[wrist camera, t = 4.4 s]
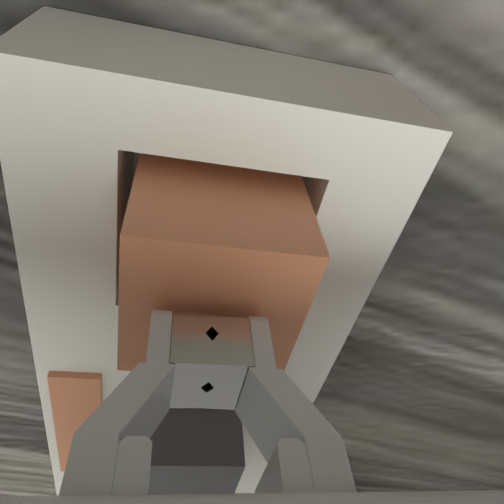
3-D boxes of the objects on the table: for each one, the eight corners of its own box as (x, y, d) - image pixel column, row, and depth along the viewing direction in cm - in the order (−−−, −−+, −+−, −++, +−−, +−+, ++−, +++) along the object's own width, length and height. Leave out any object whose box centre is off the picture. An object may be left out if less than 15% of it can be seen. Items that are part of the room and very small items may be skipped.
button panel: (392, 75, 16) (457, 136, 12) (236, 473, 35) (241, 549, 31) (43, 5, 14) (-24, 53, 10) (82, 472, 33) (64, 554, 29)
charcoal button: (237, 362, 21) (245, 466, 17) (221, 417, 24) (224, 516, 20) (132, 357, 20) (115, 465, 16) (129, 415, 23) (114, 517, 19)
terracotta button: (296, 161, 15) (330, 258, 11) (264, 272, 18) (281, 378, 14) (143, 138, 14) (119, 235, 10) (137, 260, 17) (117, 370, 13)
